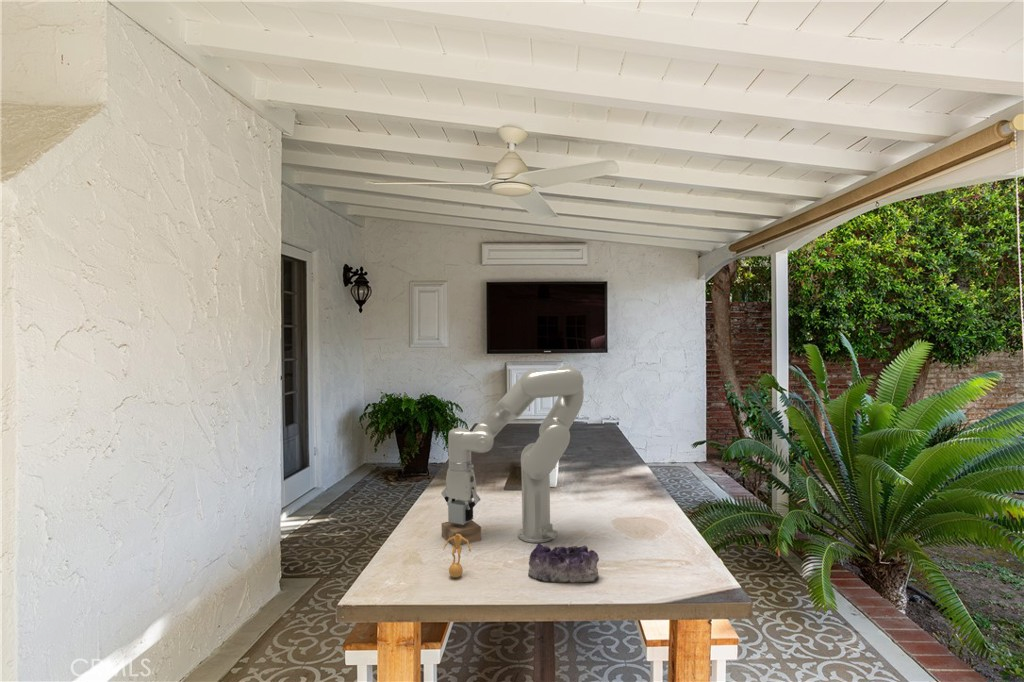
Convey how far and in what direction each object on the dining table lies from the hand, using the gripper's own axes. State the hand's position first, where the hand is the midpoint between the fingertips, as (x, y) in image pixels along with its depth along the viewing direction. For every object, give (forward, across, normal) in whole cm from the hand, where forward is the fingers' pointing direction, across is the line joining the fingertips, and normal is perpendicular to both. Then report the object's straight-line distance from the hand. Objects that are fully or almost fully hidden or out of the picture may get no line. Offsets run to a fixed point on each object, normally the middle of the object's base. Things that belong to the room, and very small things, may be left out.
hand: (460, 517), depth 190 cm
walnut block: (+7, 0, 0) cm, 7 cm away
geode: (+7, -42, +8) cm, 43 cm away
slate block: (+1, 0, 0) cm, 1 cm away
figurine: (+7, -15, +22) cm, 28 cm away
